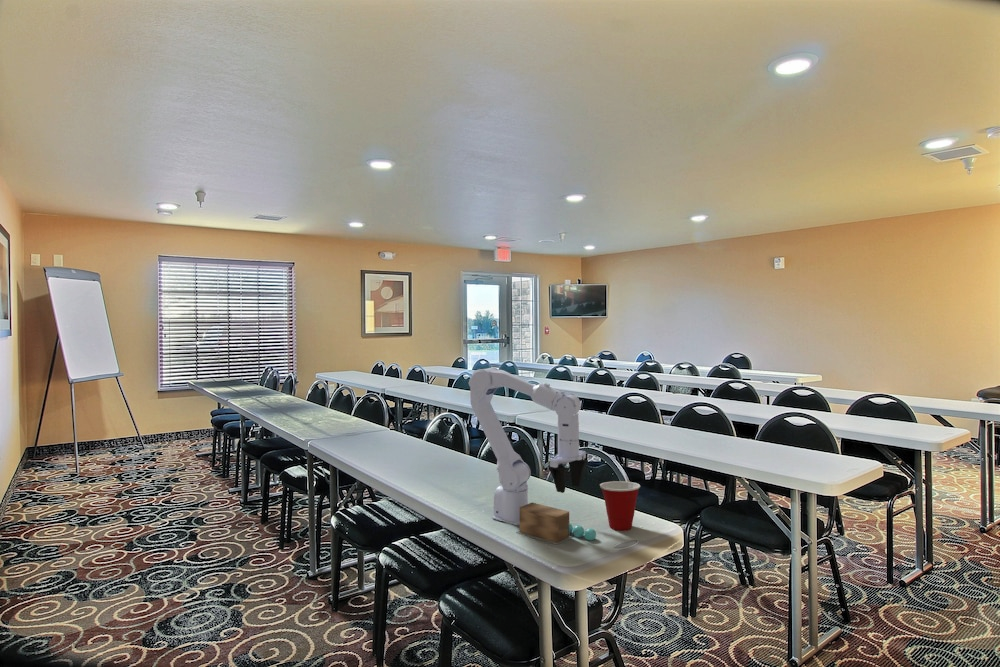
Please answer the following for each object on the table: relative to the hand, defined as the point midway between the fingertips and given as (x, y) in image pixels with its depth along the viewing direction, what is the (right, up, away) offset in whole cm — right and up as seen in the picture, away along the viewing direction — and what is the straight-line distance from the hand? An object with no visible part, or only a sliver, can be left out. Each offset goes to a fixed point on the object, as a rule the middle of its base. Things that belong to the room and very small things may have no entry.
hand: (568, 488), depth 151 cm
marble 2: (+2, -11, -7) cm, 13 cm away
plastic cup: (+14, -11, -1) cm, 17 cm away
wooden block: (-7, -10, -7) cm, 14 cm away
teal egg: (+4, -11, -10) cm, 15 cm away
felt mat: (-7, -11, -6) cm, 14 cm away
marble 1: (-1, -10, -5) cm, 12 cm away
